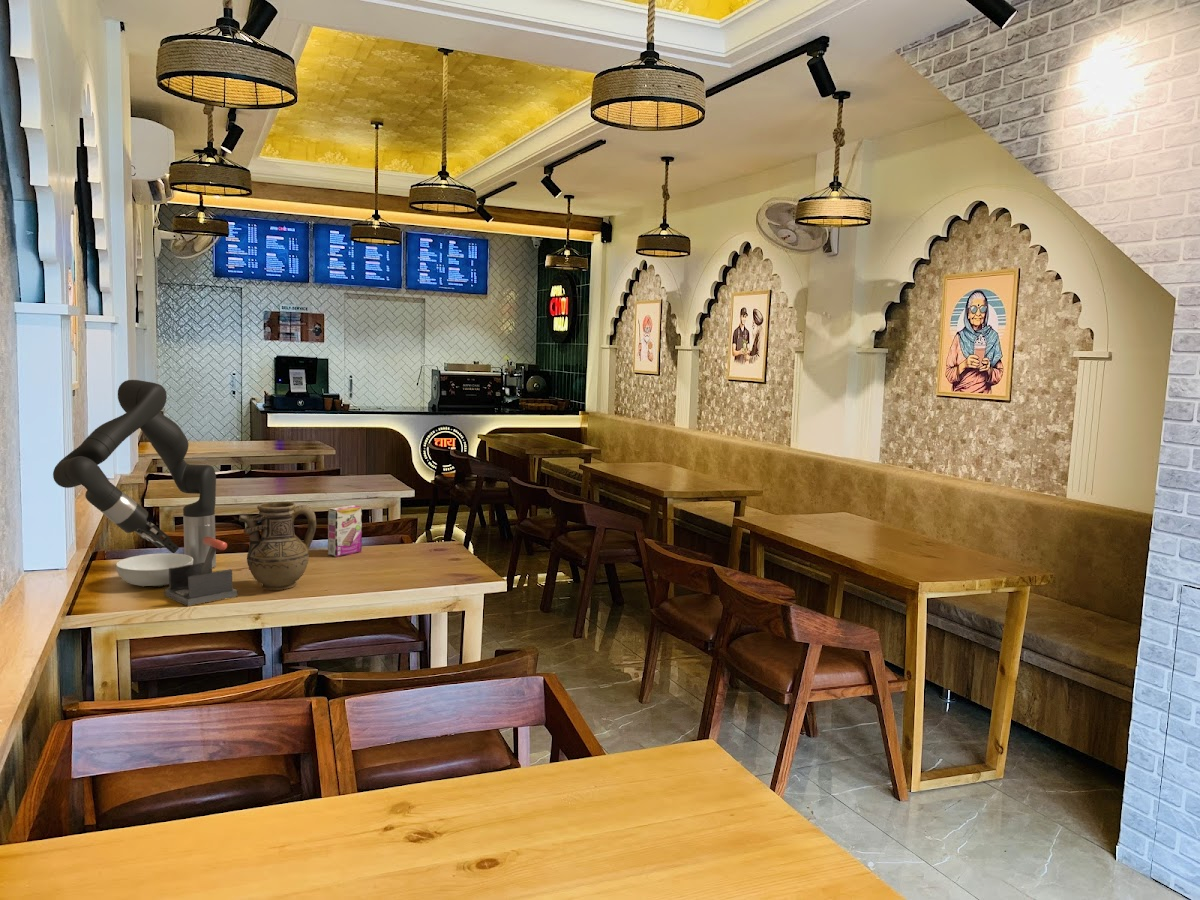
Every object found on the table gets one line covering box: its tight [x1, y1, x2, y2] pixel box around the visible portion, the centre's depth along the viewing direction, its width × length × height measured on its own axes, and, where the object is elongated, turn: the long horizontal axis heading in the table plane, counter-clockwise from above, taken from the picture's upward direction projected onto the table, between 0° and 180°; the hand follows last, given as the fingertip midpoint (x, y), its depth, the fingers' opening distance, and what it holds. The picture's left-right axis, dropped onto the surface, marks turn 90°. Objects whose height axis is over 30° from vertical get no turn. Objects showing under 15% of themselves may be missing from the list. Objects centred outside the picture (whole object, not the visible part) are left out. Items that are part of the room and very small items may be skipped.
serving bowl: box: [115, 552, 193, 587], centre depth 271 cm, size 21×21×7 cm
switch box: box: [164, 562, 238, 607], centre depth 257 cm, size 14×15×8 cm
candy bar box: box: [327, 504, 363, 558], centre depth 313 cm, size 11×5×16 cm, turn 144°
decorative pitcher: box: [238, 501, 317, 591], centre depth 268 cm, size 22×18×25 cm
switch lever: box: [200, 536, 228, 574], centre depth 258 cm, size 2×10×13 cm, turn 48°
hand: (169, 548), depth 250 cm, fingers open, 8 cm apart
